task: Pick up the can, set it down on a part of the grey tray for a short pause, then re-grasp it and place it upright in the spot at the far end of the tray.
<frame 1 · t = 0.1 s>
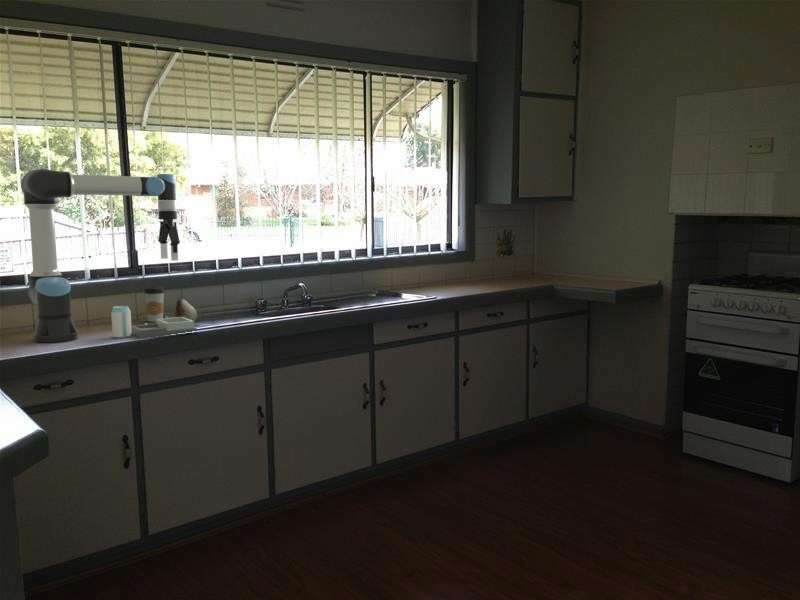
hand: (169, 259, 307), 28 cm above the counter, fingers open, 13 cm apart
grey tray: (164, 333, 285), on the counter
can: (122, 337, 276), on the counter
coffee cup: (155, 321, 316), on the counter
fruit: (185, 325, 305), on the counter
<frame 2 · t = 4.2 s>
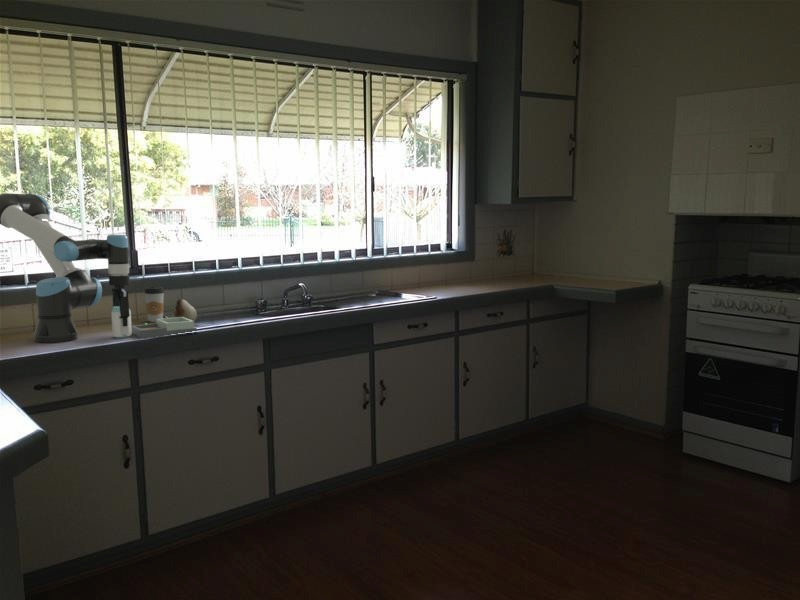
hand: (122, 332, 276), 2 cm above the counter, fingers closed on can, 7 cm apart
can: (122, 337, 277), on the counter, touching gripper
everything else where it was.
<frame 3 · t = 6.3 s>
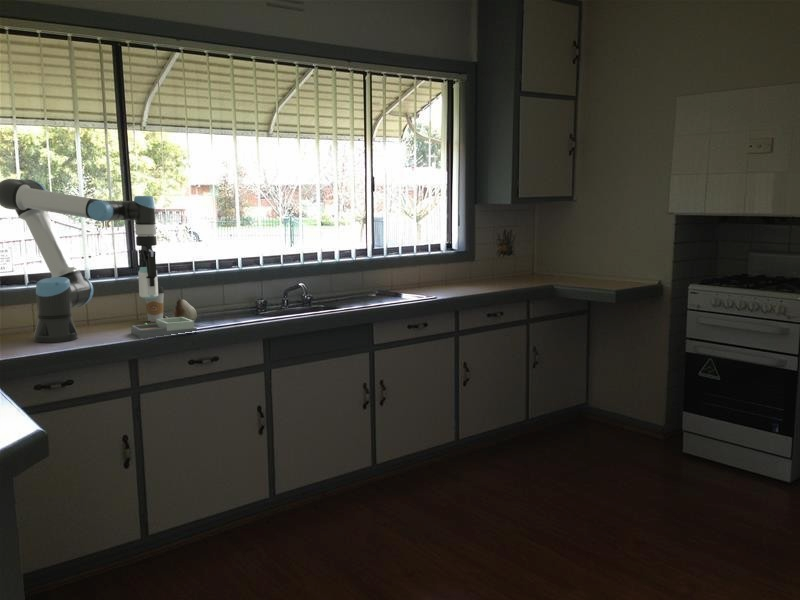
hand: (148, 293, 279), 17 cm above the counter, fingers closed on can, 7 cm apart
can: (148, 297, 279), point 15 cm above the counter, touching gripper
everything else where it was.
when the fingers open (4 cm above the counter, at t = 8.4 s): can stays where it is, resting on grey tray.
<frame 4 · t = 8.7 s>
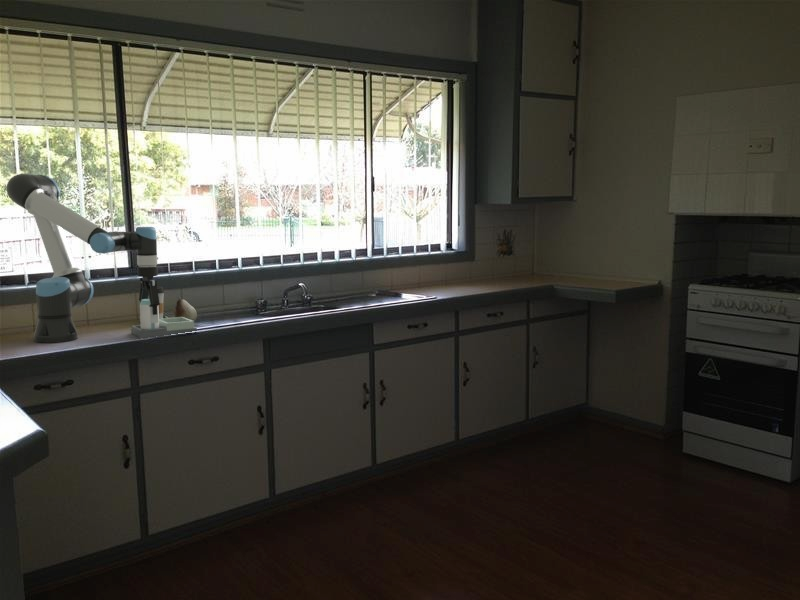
hand: (149, 320, 281), 6 cm above the counter, fingers open, 11 cm apart
can: (150, 329, 281), point 2 cm above the counter, touching grey tray
everything else where it was.
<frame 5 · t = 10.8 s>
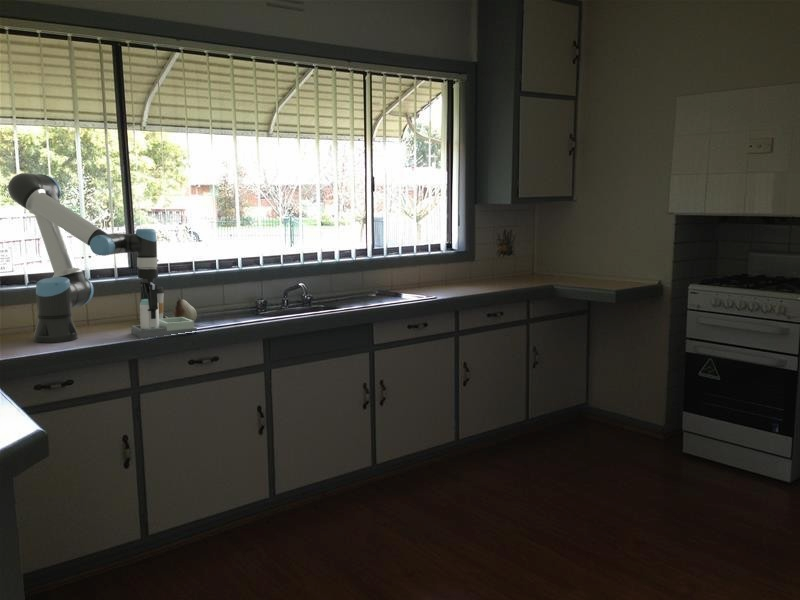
hand: (150, 325, 281), 4 cm above the counter, fingers closed on can, 7 cm apart
can: (150, 329, 281), point 2 cm above the counter, touching grey tray, gripper
everything else where it was.
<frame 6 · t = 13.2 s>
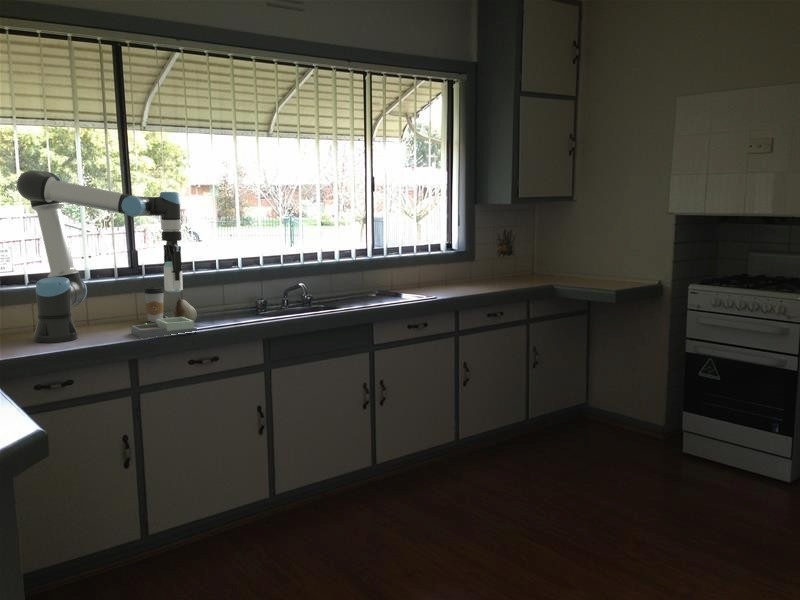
hand: (173, 287, 285), 18 cm above the counter, fingers closed on can, 7 cm apart
can: (173, 291, 285), point 17 cm above the counter, touching gripper
everything else where it was.
when the fingers open (5 cm above the counter, at t = 15.9 s): can drops 1 cm, resting on grey tray.
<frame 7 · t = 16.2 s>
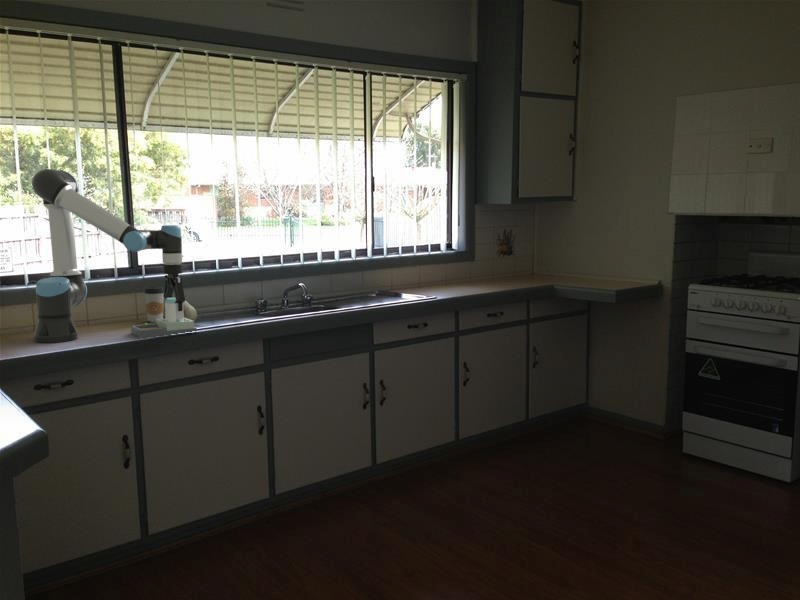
hand: (174, 317, 287), 6 cm above the counter, fingers open, 11 cm apart
can: (175, 327, 287), point 2 cm above the counter, touching grey tray
everything else where it was.
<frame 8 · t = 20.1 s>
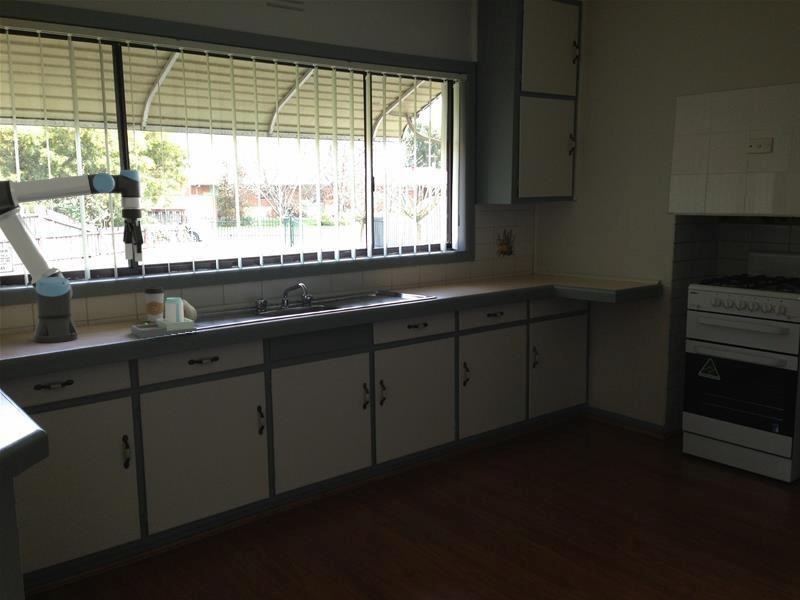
hand: (133, 260, 291), 29 cm above the counter, fingers open, 13 cm apart
nothing on the counter moved.
at the end: can inside the target area (0.0 cm from its centre), point 1.8 cm above the counter; can tilted 0°; the gripper is holding nothing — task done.
